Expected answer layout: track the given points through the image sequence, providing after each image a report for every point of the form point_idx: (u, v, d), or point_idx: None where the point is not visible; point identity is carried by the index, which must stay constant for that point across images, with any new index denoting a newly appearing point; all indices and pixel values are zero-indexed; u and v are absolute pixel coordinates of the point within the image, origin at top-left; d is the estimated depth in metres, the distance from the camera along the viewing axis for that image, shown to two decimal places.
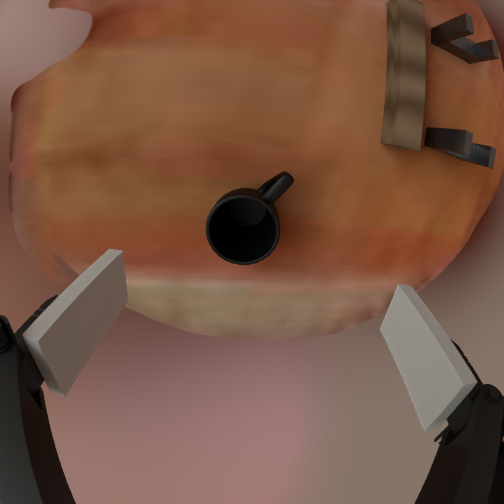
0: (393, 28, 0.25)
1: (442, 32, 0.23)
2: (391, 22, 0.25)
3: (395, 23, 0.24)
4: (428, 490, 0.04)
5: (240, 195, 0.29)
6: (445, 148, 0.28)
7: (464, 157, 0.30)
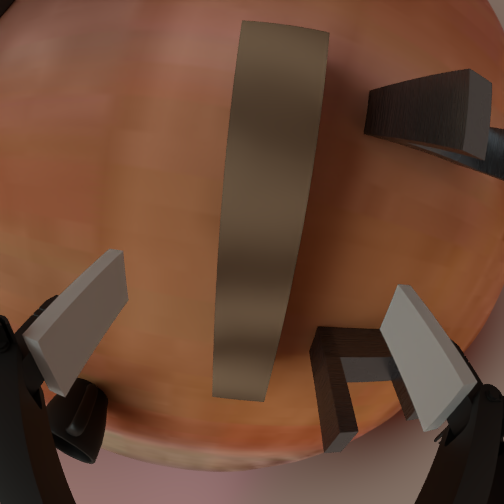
0: None
1: (389, 115, 0.12)
2: None
3: None
4: (428, 490, 0.04)
5: None
6: (318, 404, 0.18)
7: (379, 379, 0.20)
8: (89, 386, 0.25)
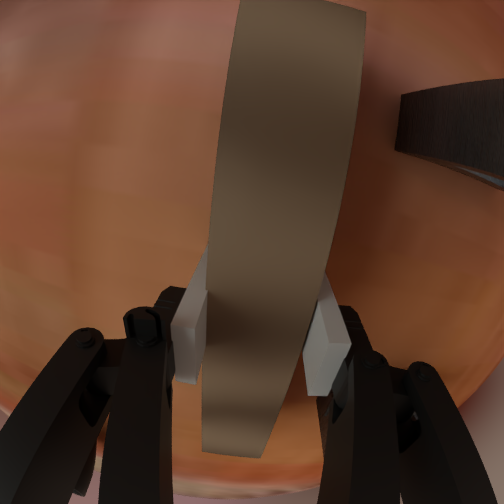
0: None
1: (435, 128, 0.08)
2: None
3: None
4: (327, 476, 0.05)
5: None
6: None
7: None
8: None
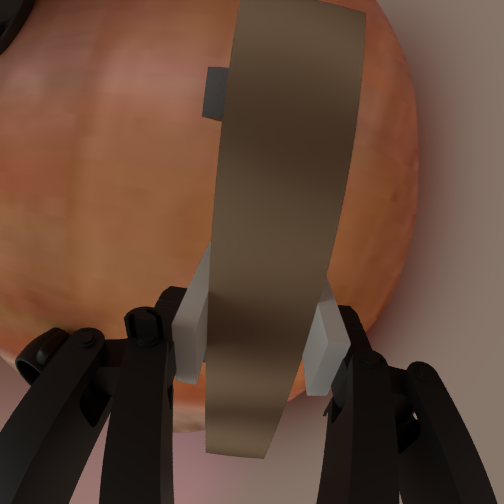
0: None
1: None
2: None
3: None
4: (326, 476, 0.05)
5: (22, 359, 0.26)
6: None
7: None
8: (60, 330, 0.33)
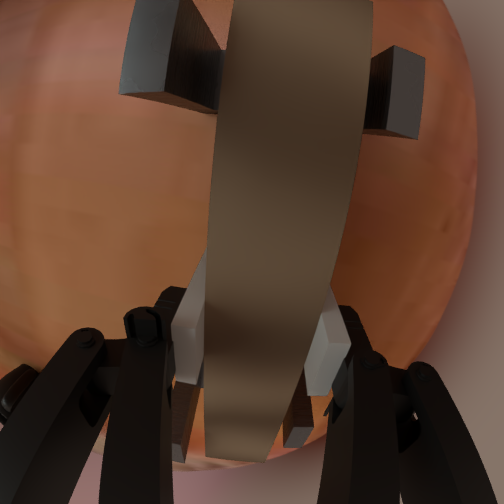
0: None
1: None
2: None
3: None
4: (327, 476, 0.05)
5: None
6: None
7: None
8: (27, 370, 0.24)
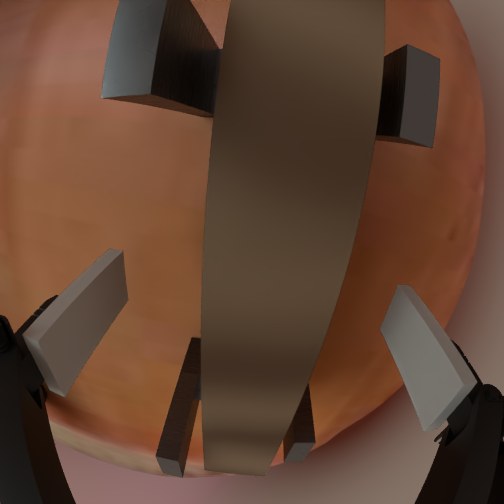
0: None
1: None
2: None
3: None
4: (428, 490, 0.04)
5: None
6: None
7: None
8: None
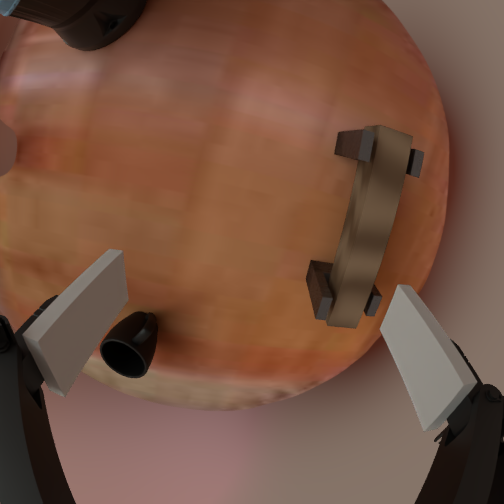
0: (362, 176, 0.28)
1: (342, 145, 0.30)
2: (363, 164, 0.28)
3: (365, 172, 0.28)
4: (428, 490, 0.04)
5: (115, 339, 0.35)
6: (311, 298, 0.35)
7: None
8: None
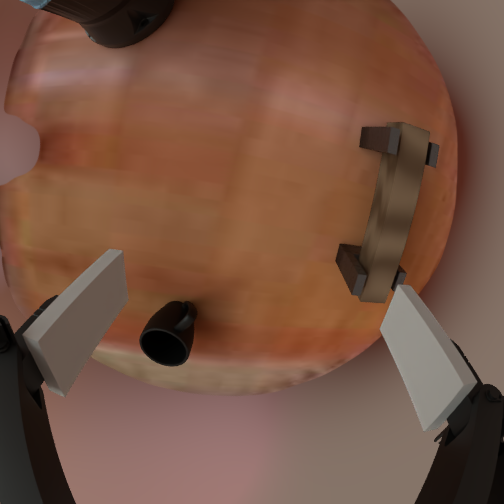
0: (388, 167, 0.31)
1: (368, 139, 0.32)
2: (387, 156, 0.31)
3: (390, 163, 0.30)
4: (428, 490, 0.04)
5: (157, 328, 0.38)
6: (344, 278, 0.38)
7: None
8: (187, 301, 0.45)
